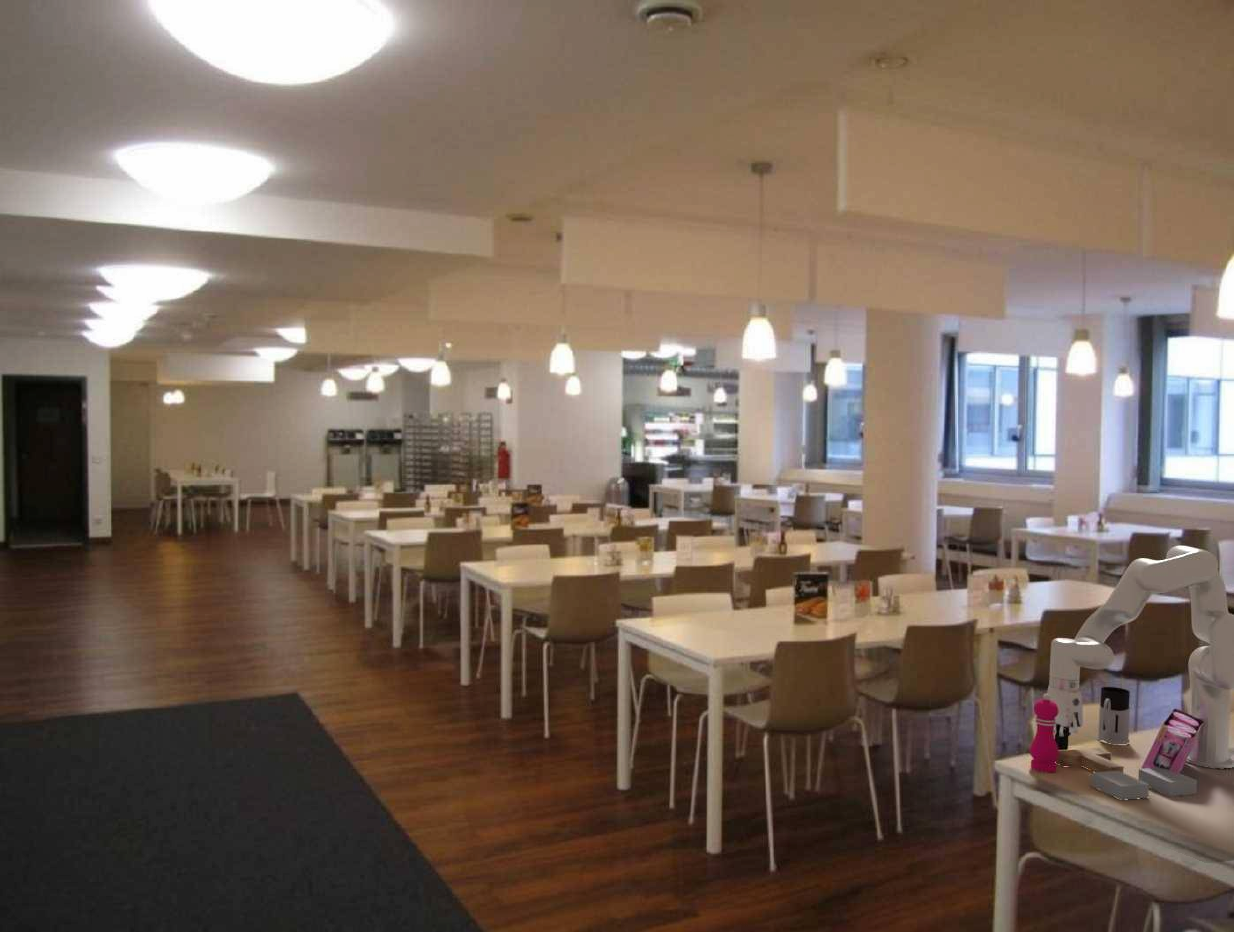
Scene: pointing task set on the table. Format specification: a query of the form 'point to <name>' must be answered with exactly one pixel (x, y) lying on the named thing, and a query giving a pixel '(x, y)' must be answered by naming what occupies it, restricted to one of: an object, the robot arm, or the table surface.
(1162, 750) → the gum box
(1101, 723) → the white and black cylinder
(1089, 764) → the t block
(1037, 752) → the pepper mill
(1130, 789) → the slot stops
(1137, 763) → the table surface
